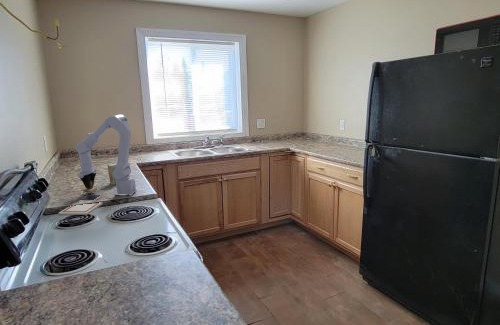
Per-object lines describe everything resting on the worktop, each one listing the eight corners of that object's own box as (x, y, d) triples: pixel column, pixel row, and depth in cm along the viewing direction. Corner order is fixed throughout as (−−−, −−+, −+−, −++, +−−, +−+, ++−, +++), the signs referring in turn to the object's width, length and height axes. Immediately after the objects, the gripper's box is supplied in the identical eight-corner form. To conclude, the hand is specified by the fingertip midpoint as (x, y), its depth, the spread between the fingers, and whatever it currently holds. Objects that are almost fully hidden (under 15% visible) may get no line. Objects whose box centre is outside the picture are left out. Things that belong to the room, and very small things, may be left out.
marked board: (102, 203, 159) (102, 202, 158) (87, 214, 145) (86, 212, 145) (76, 203, 159) (76, 201, 159) (58, 214, 146) (58, 212, 146)
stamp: (96, 189, 177) (95, 179, 176) (92, 192, 172) (90, 182, 171) (88, 189, 177) (87, 179, 176) (83, 192, 172) (81, 182, 171)
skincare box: (119, 181, 198) (117, 162, 195) (122, 182, 195) (120, 163, 192) (109, 183, 193) (107, 164, 190) (112, 184, 190) (110, 165, 188)
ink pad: (101, 197, 169) (101, 194, 168) (93, 202, 161) (93, 199, 161) (87, 197, 169) (87, 194, 169) (79, 202, 161) (78, 199, 161)
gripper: (86, 160, 178) (90, 183, 182) (71, 166, 164) (74, 190, 167) (98, 160, 178) (101, 183, 181) (83, 166, 164) (87, 191, 167)
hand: (89, 186), depth 174 cm, fingers closed on stamp, 3 cm apart
